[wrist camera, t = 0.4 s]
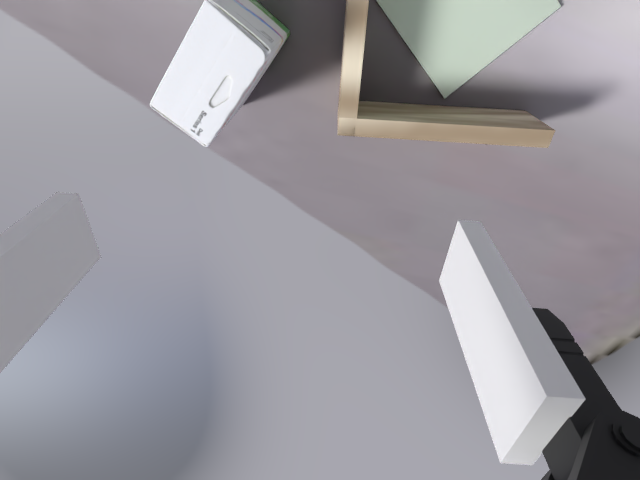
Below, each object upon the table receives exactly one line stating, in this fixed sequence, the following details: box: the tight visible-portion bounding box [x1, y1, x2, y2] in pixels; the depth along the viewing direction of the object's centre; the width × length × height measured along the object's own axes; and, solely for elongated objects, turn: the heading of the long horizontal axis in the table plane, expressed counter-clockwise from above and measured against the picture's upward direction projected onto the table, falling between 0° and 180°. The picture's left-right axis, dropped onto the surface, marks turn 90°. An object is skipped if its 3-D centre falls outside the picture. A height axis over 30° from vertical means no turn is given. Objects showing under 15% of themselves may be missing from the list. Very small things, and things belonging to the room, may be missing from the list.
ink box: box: [150, 0, 290, 147], centre depth 29 cm, size 8×5×12 cm, turn 141°
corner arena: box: [338, 0, 555, 148], centre depth 29 cm, size 18×18×6 cm
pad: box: [376, 0, 561, 98], centre depth 31 cm, size 11×11×1 cm
